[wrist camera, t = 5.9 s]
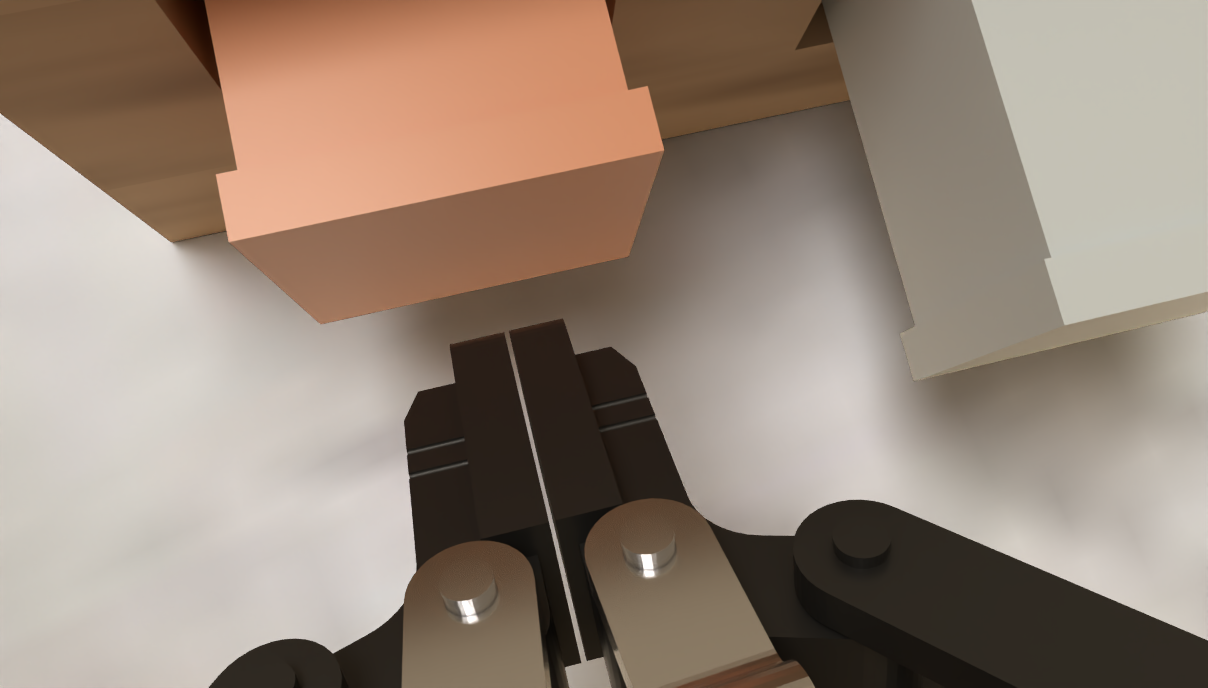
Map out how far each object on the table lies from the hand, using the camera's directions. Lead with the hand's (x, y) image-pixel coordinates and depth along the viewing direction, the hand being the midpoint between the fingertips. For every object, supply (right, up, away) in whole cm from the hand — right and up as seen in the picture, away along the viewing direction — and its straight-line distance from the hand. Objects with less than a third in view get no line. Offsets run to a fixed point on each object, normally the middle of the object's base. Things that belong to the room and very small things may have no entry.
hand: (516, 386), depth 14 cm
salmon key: (-2, +5, +4) cm, 6 cm away
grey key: (+8, +4, +4) cm, 10 cm away
